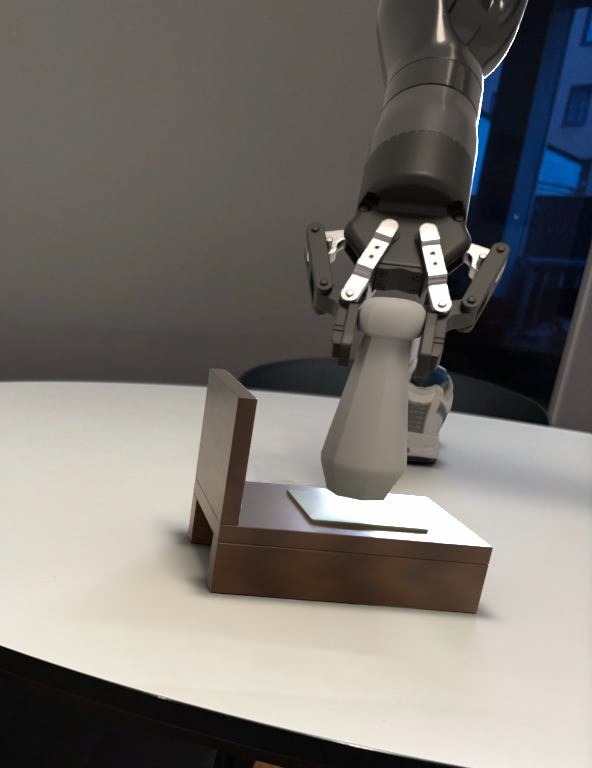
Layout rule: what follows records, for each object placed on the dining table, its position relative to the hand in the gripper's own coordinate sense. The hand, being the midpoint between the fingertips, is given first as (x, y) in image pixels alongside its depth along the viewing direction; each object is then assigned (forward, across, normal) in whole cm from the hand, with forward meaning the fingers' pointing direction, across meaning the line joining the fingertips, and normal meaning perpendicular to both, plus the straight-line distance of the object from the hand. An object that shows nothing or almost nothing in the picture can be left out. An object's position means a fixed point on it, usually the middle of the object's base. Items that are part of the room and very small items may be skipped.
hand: (383, 363), depth 66 cm
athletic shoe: (-31, +5, +52) cm, 61 cm away
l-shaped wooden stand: (+10, -1, +11) cm, 15 cm away
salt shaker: (+5, 0, +8) cm, 9 cm away
